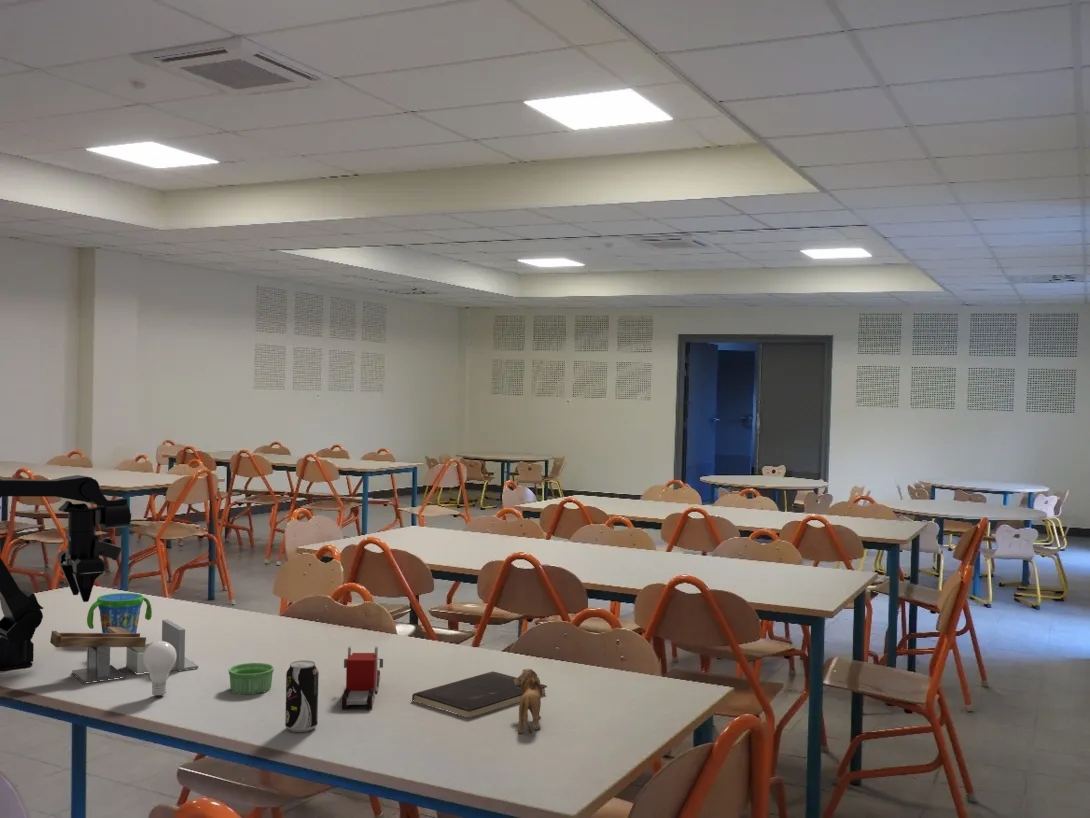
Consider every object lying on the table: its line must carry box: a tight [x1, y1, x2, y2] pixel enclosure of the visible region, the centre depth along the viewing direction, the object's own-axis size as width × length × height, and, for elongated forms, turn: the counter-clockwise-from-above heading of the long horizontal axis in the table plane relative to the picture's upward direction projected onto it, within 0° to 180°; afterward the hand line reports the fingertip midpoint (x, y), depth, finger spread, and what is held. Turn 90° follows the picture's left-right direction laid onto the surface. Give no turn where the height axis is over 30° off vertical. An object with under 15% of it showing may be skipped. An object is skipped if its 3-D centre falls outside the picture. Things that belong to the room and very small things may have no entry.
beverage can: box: [284, 660, 320, 733], centre depth 184 cm, size 6×6×12 cm
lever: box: [49, 627, 147, 648], centre depth 220 cm, size 18×19×3 cm
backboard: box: [161, 619, 199, 672], centre depth 226 cm, size 4×12×9 cm, turn 38°
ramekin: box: [228, 662, 275, 695], centre depth 208 cm, size 9×9×4 cm
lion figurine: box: [514, 668, 543, 735], centre depth 189 cm, size 15×5×9 cm, turn 5°
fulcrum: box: [71, 645, 125, 684], centre depth 215 cm, size 8×10×7 cm
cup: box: [125, 642, 176, 673], centre depth 222 cm, size 8×8×4 cm
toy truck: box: [340, 645, 384, 711], centre depth 205 cm, size 8×19×10 cm, turn 5°
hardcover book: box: [411, 670, 548, 718], centre depth 205 cm, size 16×23×2 cm
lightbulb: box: [143, 640, 177, 697], centre depth 201 cm, size 6×6×11 cm
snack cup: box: [86, 592, 153, 633], centre depth 248 cm, size 16×10×10 cm
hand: (80, 598), depth 231 cm, fingers open, 9 cm apart
